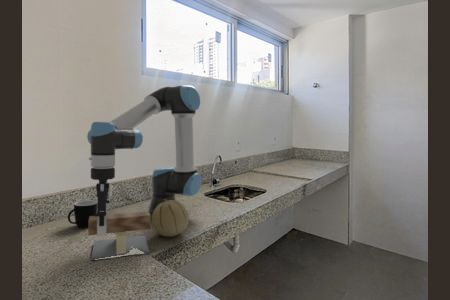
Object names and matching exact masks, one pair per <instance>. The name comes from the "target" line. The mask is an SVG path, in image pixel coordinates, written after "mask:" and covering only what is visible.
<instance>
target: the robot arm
mask: <svg viewBox="0 0 450 300" xmlns="http://www.w3.org/2000/svg"><path fill="white" fill-rule="evenodd" d="M200 106H201V96H200V94H199V91H198V90H197V89H196V88H195V87H194V86H193V85H186V84H185V85H183V84H182V85H174V86H173V85H172V86H164V87H161V88H159V89H157V90H155V91H154V92H151V93H150V94H148V95H147V96H145V97H144V99H143V101H142V102H139V103H138V104H137V105H135V106H133V107H132V108H129V109H128V110H127V111H125V112H124V113H122V114H120V115H119V116H116V117H115V118H113V119H112V120H111V121H93V122H92V123H91V126H90V129H89V130H88V132H87V137H86V138H87V141H88V143H89V144H90V157H89V158H88V160H89V161H90V166H91V168H90V179H92V180H94V181H98V182H97V183H96V186H95V187H96V198H97V214H95V217H96V216H97V235H96V237H97V236H98V237H99V236H107V234H106V215H108V204H110V199H108V197H109V190H110V182H108V180H113V179H115V177H116V174H115V173H116V168H115V166H116V150H127V149H128V150H129V149H130V150H133V149H139V148H140V147H141V145H143V141H144V140H143V139H144V138H143V137H144V136H143V133H142V132H141V131H140V130H139V129H134V128H135V127H137V126H138V125H140V124H141V123H143V122H145V121H146V120H148V119H149V118H150V117H152V116H153V115H158V114H159V113H161V112H166V111H171V112H170V113H171V116H172V117H173V118H174V135H175V136H174V138H175V139H174V140H175V142H174V143H175V164H176V166H175V167H174V166H173V167H163V168H162V167H161V168H156V169H154V170H153V172H152V198H151V199H150V204H149V206H148V211H149V212H150V215H152V214H153V211H154V209H155V208H156V207H157V206H158V205H159V204H160V203H162V202H164V201H163V199H166V200H176V201H177V199H176V195H179V196H183V197H194V196H196V195H197V194H198V193H199V191H200V189H201V186H202V183H203V182H202V181H203V180H202V176H201V174H200V173H198V170H197V167H196V166H195V165H194V163H195V161H194V136H193V135H194V132H193V131H194V127H193V124H194V123H193V118H194V116H195V115H196V111H197V110H198V109H199V108H200Z"/></svg>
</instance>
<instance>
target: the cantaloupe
mask: <svg viewBox="0 0 450 300" xmlns="http://www.w3.org/2000/svg"><path fill="white" fill-rule="evenodd" d="M163 201H164V202H162V203H160V204H159V205H158V206H157V207H156V208H155V209H154V211H153V214H151V221H152V222H151V223H152V225H153V228H154V230H155V231H156V233H158V234H159V235H161V236H163V237H166V238H167V237H171V238H173V237H176V236H177V235H179V234H182V233H183V232H184V231H185V230H186V229H187V227H188V225H189V221H190V216H189V215H190V214H189V212H188V209H187V207H186V206H185V205H184V203H182V202H181V201H179V200H177V199H176V200H166V199H163Z"/></svg>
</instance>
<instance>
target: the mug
mask: <svg viewBox="0 0 450 300" xmlns="http://www.w3.org/2000/svg"><path fill="white" fill-rule="evenodd" d="M97 205H98V200H97V201H96V200H87V199H86V200H80V201H76V202H74V204H73V209H72V210H70V211H69V212H68V214H67V221H68V222H69V223H70V224H72V225H76V226H77V228H79V227H88V221H89V217H90V216H95V214H97ZM72 213H74V221H72V220H71V215H72Z"/></svg>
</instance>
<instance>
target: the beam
mask: <svg viewBox="0 0 450 300" xmlns="http://www.w3.org/2000/svg"><path fill="white" fill-rule="evenodd" d="M151 221H152V214H151V213H149V210H148V211H136V212H126V213H125V212H124V213H114V214H107V215H106V235H107V234H116V233H117V232H126V233H127V232H134V231H143V230H151ZM87 230H88V236H97V216H96V217H95V216H90V217H89V221H88V229H87Z"/></svg>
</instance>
